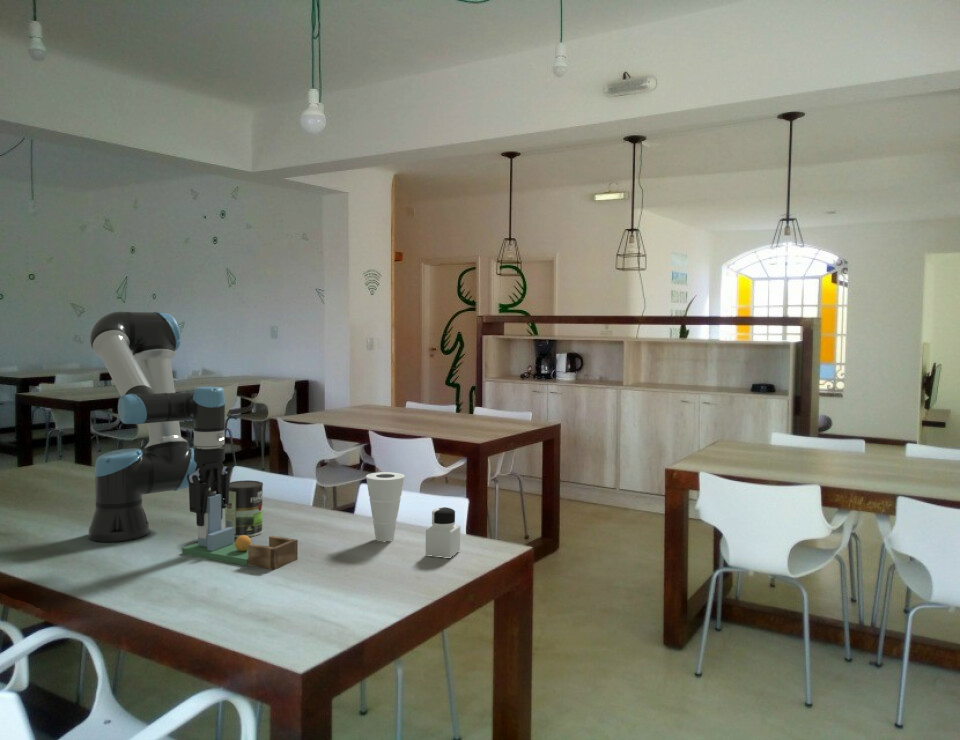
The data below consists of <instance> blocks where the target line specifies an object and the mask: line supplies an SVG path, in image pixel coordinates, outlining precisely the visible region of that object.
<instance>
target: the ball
mask: <svg viewBox="0 0 960 740" xmlns="http://www.w3.org/2000/svg"><path fill="white" fill-rule="evenodd" d="M234 542H235V547H236V548H237V549H238V550H239V551H246V550H248V545H250V544H252V539H251V537H248V536H246V535H241V536H239V537H238V538H236V539H235V540H234Z"/></svg>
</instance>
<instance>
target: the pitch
mask: <svg viewBox="0 0 960 740" xmlns="http://www.w3.org/2000/svg"><path fill="white" fill-rule="evenodd" d="M181 554H182V555H188V556H192V557H199V558H204V559H210V560H213V561H221V562H226V563H231V564H236V565H241V566H249V565H248V550H246V551H239V550H238V549H237V548H236V547H235V541H234V543H232V544H230V545H227V546H224V547H222V548H219V549H216V550H214V551H210V550H207V547H205V546H199V545H198V541H197V542H196V543H191V544H189V545H187V546H186V545H185V546H183V547H182V548H181Z"/></svg>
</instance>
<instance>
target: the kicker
mask: <svg viewBox="0 0 960 740" xmlns="http://www.w3.org/2000/svg"><path fill="white" fill-rule="evenodd" d="M200 509H201V508H200ZM205 513H208V535H207V539H205V538H199V537H198V536H197V542H198V545H199V546H205V547H207V550H210V551H214V550H216V549H219V548H222V547H224V546H227V545H230V544H232V543H234V542H235V538H234V528H233V527H228V528H223V529H222V520H221V494H216V490H211V489H209V491H208V498H207V505H206V512H205Z"/></svg>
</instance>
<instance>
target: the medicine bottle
mask: <svg viewBox="0 0 960 740" xmlns="http://www.w3.org/2000/svg"><path fill="white" fill-rule="evenodd" d="M459 550H460V551H461V525H459V524H456V511H455V509H453V508H451V507H443V506H442V507H441V506H440V507H435V508H434V509H432V510H431V525H430V526H429V527H428V528H426V529H425V556H426V555H432V556H442V557H452V556H453V555H454V554H456V553H457V552H458V551H459ZM458 553H459V552H458ZM458 553H457V554H458ZM457 554H456V555H457ZM453 557H454V556H453ZM453 557H452V558H453Z"/></svg>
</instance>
